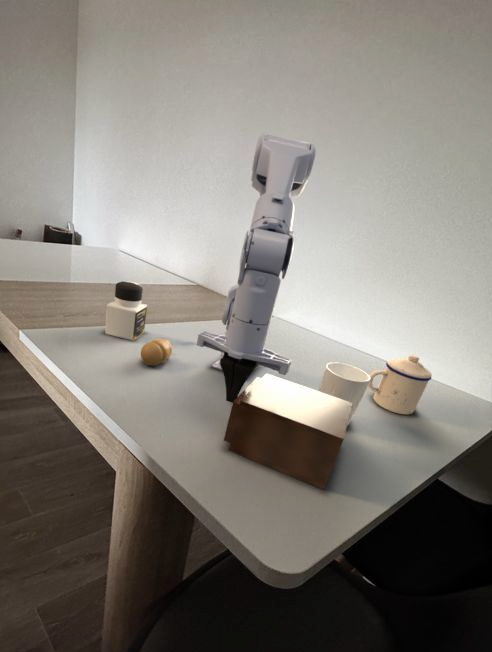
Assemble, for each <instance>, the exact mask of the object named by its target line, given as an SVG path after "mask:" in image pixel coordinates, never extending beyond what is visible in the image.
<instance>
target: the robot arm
mask: <svg viewBox="0 0 492 652" xmlns="http://www.w3.org/2000/svg"><path fill="white" fill-rule="evenodd" d="M316 154H317V146H316V143H314V142H305V141H302V140H301V141H300V140H295V139H291V138H286V137H282V136H277V135H271V134H267V133H266V132H262V133H261V134H260V135H258V138H257V142H256V147H255V152H254V155H253V161H252V168H251V171H252V173H251V178H250V179H251V181H250V182H251V187H252V188H253V189H254V190H256V191H257V192H258V193H259V198H257V200H256V203H255V205H254V210H253V215H252V219H251V224H250V228H249V230H246V232H245V235H244V240H243V244H242V248H241V253H240V258H239V270H238V278H237V283H236V284H234V285H233V286H231V287H230V289H229V290H228V292H227V296H226V299H225V302H224V307H223V312H222V317H221V322H222V324H223V325H224V326H225V334H224V335H223V334H222V335H221V334H216V333H213V332H209V331H206V330H203V331H202V332H199V333H198V335H197V340H196V346H198V347H201V348H204V347H205V348H209V349H211V350H214V351H218V352H220V358H219V360H217V361H216V362H214V363H212V368H214V369H216V370H219V371H222V375H223V379H224V384H225V401H226V402H228V403H230V404H232V403H233V401H234V400H235V399H236V398H237V397H238V396H239V395H240V392H241V390H242V388H243V387H244V385H245V384H246V382H247V380H248V379H249V378H250V376H251V375H252V374H253V373H254V371H255V370H256V369H257V368H258V367H259V366H262V367H264V368H266V369H270V370H273V371H275V372H278V374H279V375H282V376H286V375H287V374H288V373H289V370H290V367H291V365H292V364H291V363H292V359H291V358H288V357H285V356H283V355H281V354H278V353H276V352H274V351H272V350H270V349H268V348H265V343H266V340H267V336H268V332H269V329H270V324H271V321H272V316H273V314H274V309H275V306H276V303H277V302H276V301H277V298H278V294H279V291H280V286H281V283H282V280H284V279H285V277H286V275H287V273H288V270H289V267H290V265H291V262H292V257H293V252H294V246H295V234H294V231H293V223H294V215H295V214H294V213H295V203H294V201H293V199H294V198H298V197H300V196H301V194H302V192H304V189H305V187H306V186H307V185H306V184H307V183H308V182H309V179H310V177H311V173H312V170H313V166H314V163H315V159H316ZM281 273H282V274H281ZM280 275H281V277H280ZM281 279H282V280H281Z"/></svg>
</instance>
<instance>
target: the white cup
mask: <svg viewBox="0 0 492 652" xmlns="http://www.w3.org/2000/svg"><path fill="white" fill-rule="evenodd" d="M369 375H370V374H368V373H367V372H365V371H364V370H363V369H360V368H359V367H356V366H354V365H350V364H347V363H342V362H329V363H327V364H325V369H324V372H323V376H322V379H321V382H320V386H319V389H318V391H319V392H322V393H325V394H328V395H331V396H334V397H337V398H340V399H342V400H345V401H348V402H351V403H353V406H352V410H351V413H350V417H349V421H348V425H347V427H348V426H349V424H350V422H351V420H352V418H353V417H354V415H355V413H356V411H357V409H358V407H359V405H360V403H361V401H362V399H363V397H364V394H365V392H366V391H367V388H368V387H369V386H368V384H369V382H370V379H371V378H370V376H369Z"/></svg>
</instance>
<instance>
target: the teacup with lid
mask: <svg viewBox="0 0 492 652" xmlns="http://www.w3.org/2000/svg"><path fill="white" fill-rule="evenodd" d="M385 365H386V366H385V368H384V370H383V369H376V370H374V371H372V372H370V374H368V375H369V376H370V378H371V379H370V382H369V384H368V386H367V387H368V388H369V389H370V390H371V391H372V392H374V395H373V400H374V402H375V403H376V404H377V405H379V406H380V407H381V408H382V409H385V410H387V411H390V412H392V413H395V414H399V415H411V414H413V413H414V412H415V410H416V408H417V406H418V404H419V402H420V400H421V398H422V396H423V393H424V391H425V389H426V387H427V385H428V383H429V381H431V380H432V376H433V375H432V372H431V371H430V370H429V369H428V368H426V367H425V366H424V365H423V364H422V363H421V362H420V357H419V356H417V355H414V354H410V355H408V357H402V358H390V359H388V360H387V361H386V363H385ZM378 375H381V378H380V380H379V383H378V385H377V387H374V385H373V380H374V378H375V377H376V376H378Z"/></svg>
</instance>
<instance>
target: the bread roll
mask: <svg viewBox="0 0 492 652" xmlns="http://www.w3.org/2000/svg"><path fill="white" fill-rule="evenodd" d="M172 350H173V349H172V345H171V343H170V342H169V341H168V340H167V339H164V338H159V337H158V338H155V339H153V340H151V341H148V342H146V343H145V344H144V345H143V346H142V347H141V349H140V357H141V360H142V362H144V363H145V364H146V365H148V366H157V365H159V364H161V363H164V362H165V361H167V360H168V359H169V358H170V357H171V355H172V353H173V351H172Z"/></svg>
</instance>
